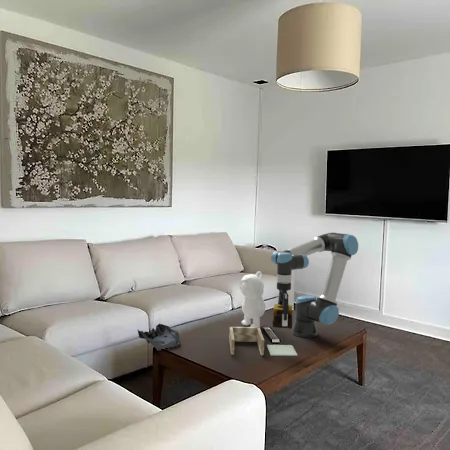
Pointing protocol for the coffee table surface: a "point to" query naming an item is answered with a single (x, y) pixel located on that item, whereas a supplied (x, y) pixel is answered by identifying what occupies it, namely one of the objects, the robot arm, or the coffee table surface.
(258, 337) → the wooden u-shaped frame
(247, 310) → the teddy bear
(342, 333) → the coffee table surface
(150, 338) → the crumpled grey paper
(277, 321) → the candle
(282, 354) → the felt mat
